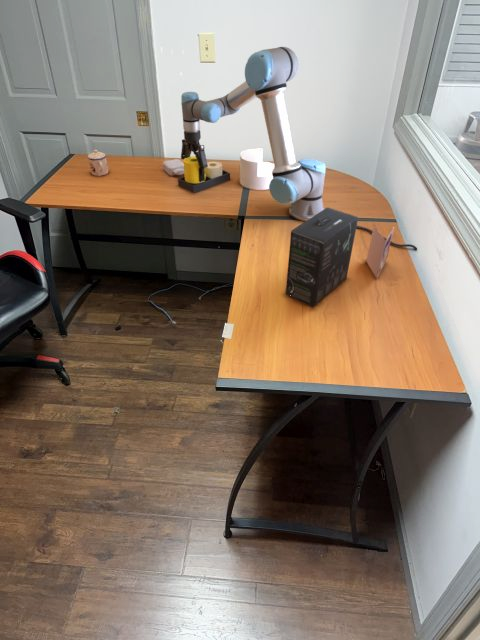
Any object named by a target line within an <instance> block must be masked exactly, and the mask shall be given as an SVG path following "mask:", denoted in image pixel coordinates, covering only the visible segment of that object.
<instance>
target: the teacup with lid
mask: <svg viewBox="0 0 480 640" xmlns="http://www.w3.org/2000/svg"><path fill="white" fill-rule="evenodd" d="M87 159H88V162H89V166H90V172H91V175H93V176H96V177H100V176H101V177H102V176H106V175H107V174H108V173H109V166H108V161H107V155H106V153H105V152H101V151H98V149H93V151H92V152H91V153H89V154H88V155H87Z"/></svg>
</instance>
